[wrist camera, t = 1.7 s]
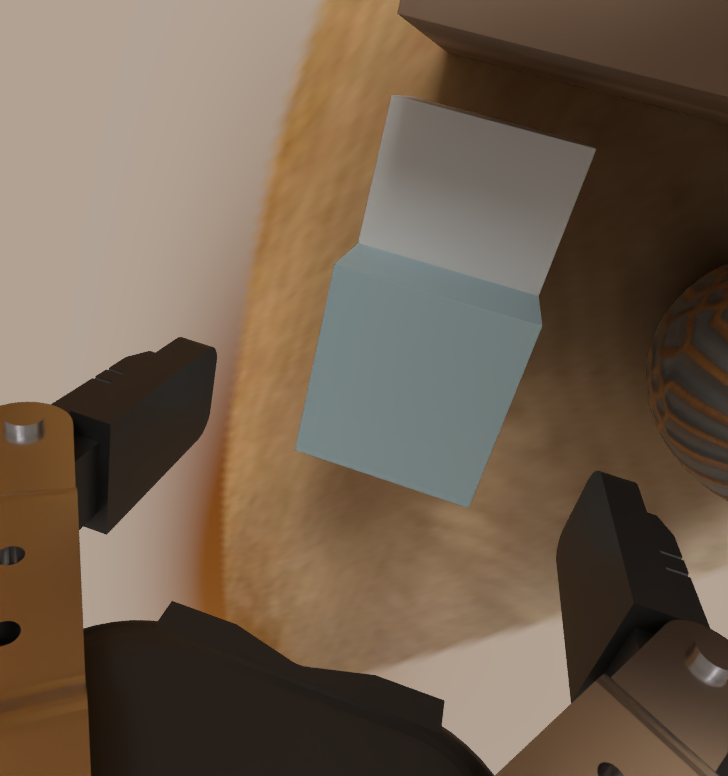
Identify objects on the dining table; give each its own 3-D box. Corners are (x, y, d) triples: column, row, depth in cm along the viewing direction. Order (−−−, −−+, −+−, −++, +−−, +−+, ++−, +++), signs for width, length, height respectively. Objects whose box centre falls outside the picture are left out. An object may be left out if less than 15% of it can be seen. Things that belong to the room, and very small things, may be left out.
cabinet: (426, 97, 18) (370, 92, 11) (572, 136, 18) (611, 156, 11) (360, 359, 22) (289, 474, 15) (476, 395, 22) (458, 531, 15)
